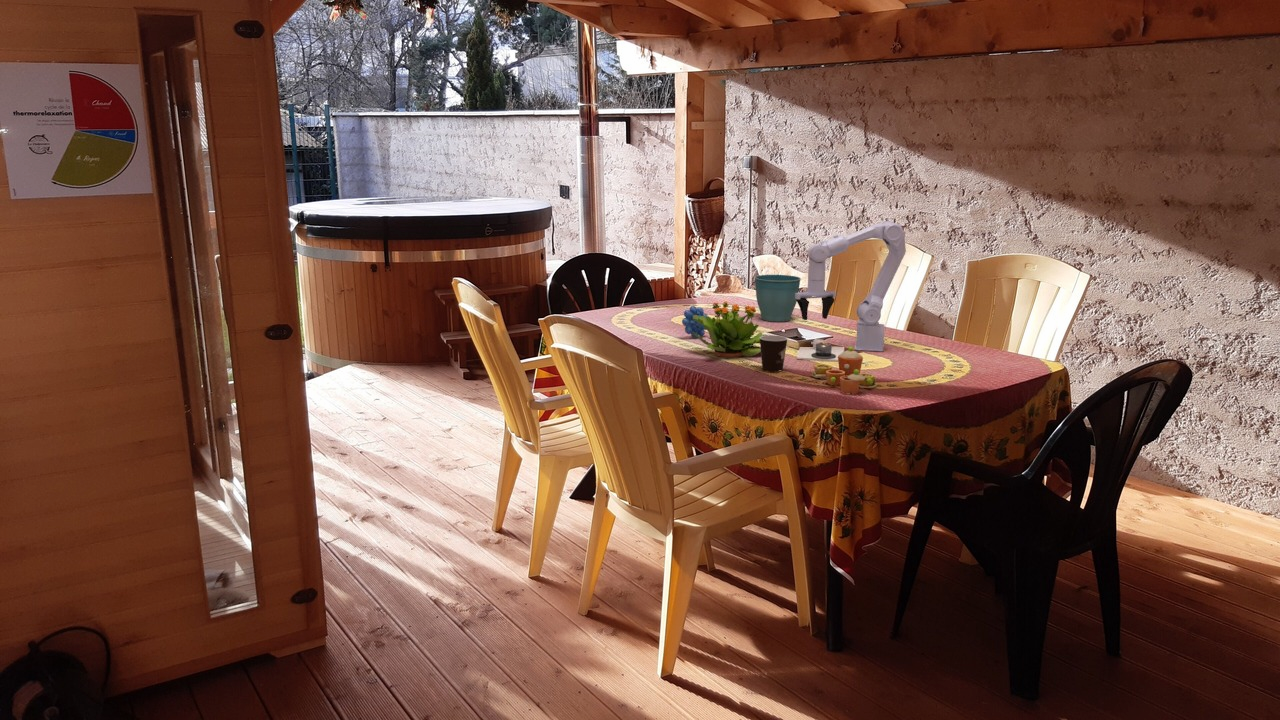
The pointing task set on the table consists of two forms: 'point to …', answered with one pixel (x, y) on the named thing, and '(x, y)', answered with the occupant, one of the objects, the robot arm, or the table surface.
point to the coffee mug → (773, 352)
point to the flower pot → (776, 296)
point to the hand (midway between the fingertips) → (814, 318)
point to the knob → (823, 349)
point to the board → (809, 352)
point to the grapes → (694, 322)
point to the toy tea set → (846, 373)
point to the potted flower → (731, 331)
